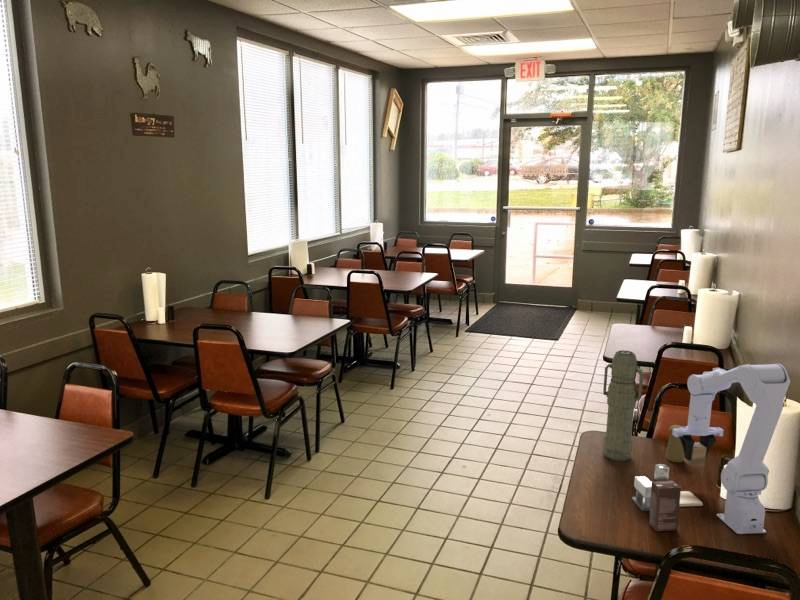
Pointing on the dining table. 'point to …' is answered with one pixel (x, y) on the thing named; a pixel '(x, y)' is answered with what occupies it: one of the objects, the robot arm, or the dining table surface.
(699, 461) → the walnut block
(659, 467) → the round canister
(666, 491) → the box
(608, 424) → the green thermos bottle
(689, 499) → the birch pad
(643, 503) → the mounted unit
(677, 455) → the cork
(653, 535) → the dining table surface
